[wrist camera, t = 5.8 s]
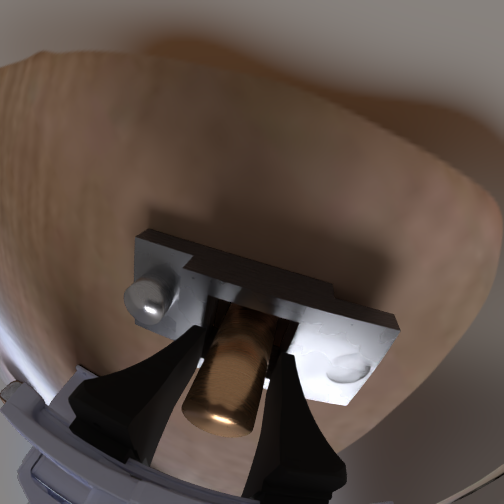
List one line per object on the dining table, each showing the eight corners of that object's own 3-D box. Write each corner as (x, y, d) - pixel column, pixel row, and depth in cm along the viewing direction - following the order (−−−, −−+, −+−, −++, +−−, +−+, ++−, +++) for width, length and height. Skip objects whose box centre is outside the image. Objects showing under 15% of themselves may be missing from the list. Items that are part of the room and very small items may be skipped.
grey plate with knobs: (145, 312, 18) (124, 336, 16) (148, 228, 16) (120, 246, 13) (343, 373, 17) (345, 405, 14) (388, 299, 14) (400, 330, 12)
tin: (19, 385, 41) (2, 404, 34) (12, 376, 40) (-5, 394, 33) (41, 396, 37) (22, 420, 30) (33, 385, 36) (12, 409, 29)
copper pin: (226, 322, 17) (180, 422, 10) (235, 284, 16) (182, 388, 9) (271, 335, 17) (245, 443, 10) (284, 299, 16) (261, 413, 8)
